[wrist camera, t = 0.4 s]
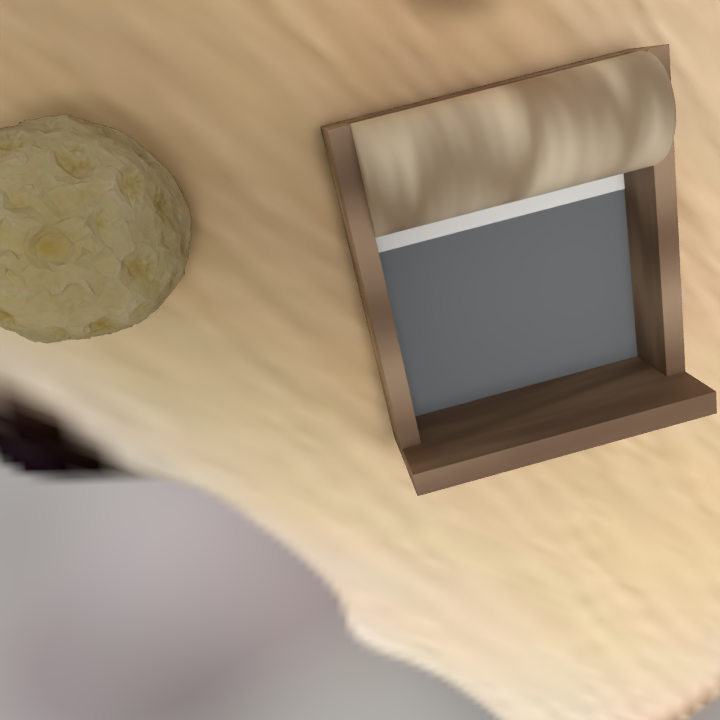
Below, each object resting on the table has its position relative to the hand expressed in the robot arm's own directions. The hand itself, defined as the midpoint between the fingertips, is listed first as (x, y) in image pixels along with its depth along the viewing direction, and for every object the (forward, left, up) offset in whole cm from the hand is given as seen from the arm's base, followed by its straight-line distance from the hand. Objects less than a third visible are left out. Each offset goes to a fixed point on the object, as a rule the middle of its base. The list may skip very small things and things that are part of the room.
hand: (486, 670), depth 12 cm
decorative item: (-6, -10, -26) cm, 28 cm away
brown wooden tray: (+1, +9, -25) cm, 27 cm away
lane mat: (+1, +9, -25) cm, 27 cm away
